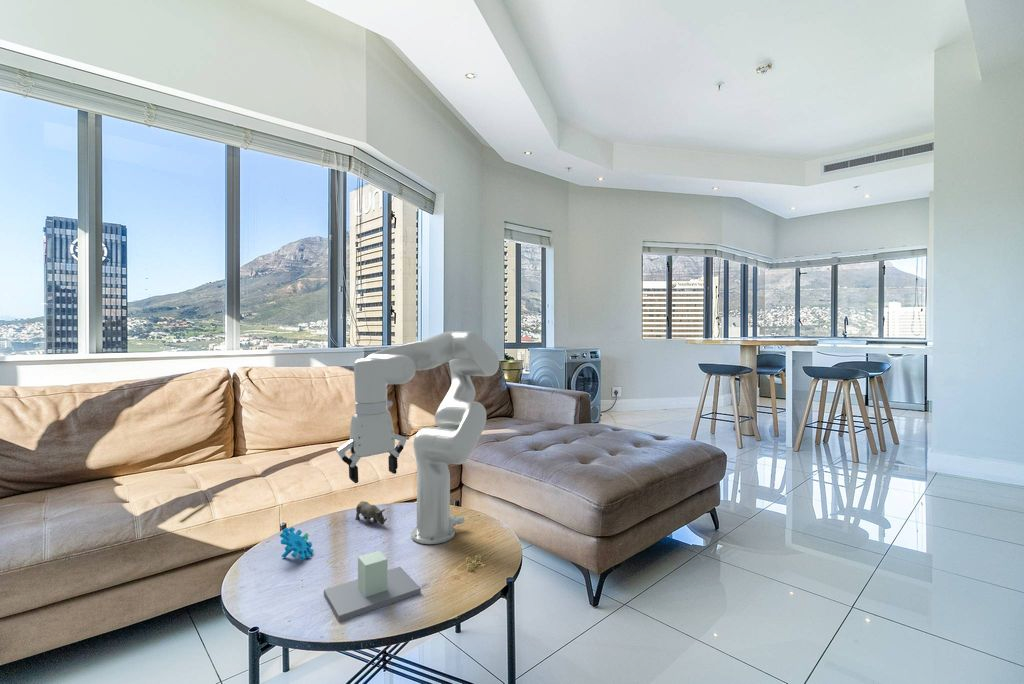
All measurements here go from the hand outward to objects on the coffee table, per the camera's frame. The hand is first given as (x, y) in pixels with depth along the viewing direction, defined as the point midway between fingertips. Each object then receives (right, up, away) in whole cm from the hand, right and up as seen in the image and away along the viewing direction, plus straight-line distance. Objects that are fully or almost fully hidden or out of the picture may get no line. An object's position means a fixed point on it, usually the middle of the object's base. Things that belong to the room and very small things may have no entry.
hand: (374, 476), depth 114 cm
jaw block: (+2, -22, -10) cm, 25 cm away
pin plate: (+2, -24, -10) cm, 26 cm away
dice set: (+24, -25, +4) cm, 35 cm away
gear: (-23, -24, +8) cm, 34 cm away
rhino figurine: (-10, -23, +30) cm, 39 cm away
